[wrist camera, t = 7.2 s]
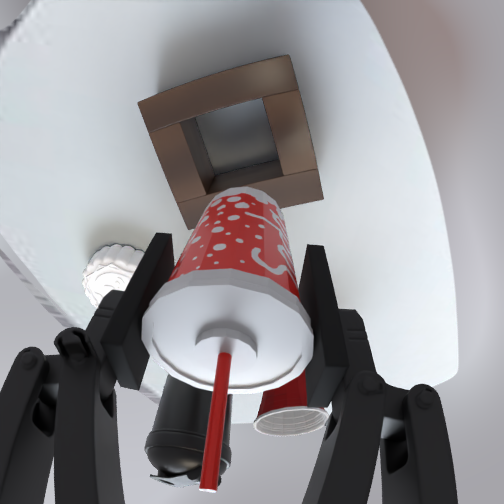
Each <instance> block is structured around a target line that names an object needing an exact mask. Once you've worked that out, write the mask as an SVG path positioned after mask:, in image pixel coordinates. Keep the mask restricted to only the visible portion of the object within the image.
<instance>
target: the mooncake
mask: <svg viewBox="0 0 504 504" xmlns="http://www.w3.org/2000/svg"><path fill="white" fill-rule="evenodd" d="M143 255H144V252H143V251H140V250H136V251H135V250H134V249H133V248H132V247H131V246H124V247H122V246H120V245H118V244H115V245H113V246H111V247H109V246H105V247H103V248H102V249H101V251H97V252H96V253H95V254H94V255H93V257H92V258H91V260H90V261H89V262H88V264H87V266H86V268H85V269H84V271H83V277H84V278H83V280H82V284H83V286H84V287H85V294H86V295H87V296H88V297H89V298H90V302H91V303H92V304H93V305H94V306H95V307H96V308H98V306H99V304H100V302H101V300H102V299H103V297H104V296H105V295H106V294H107V293H109V292H110V291H111V290H112V289H113V290H120V291H125V289H126V287H127V285H128V283H129V281H130V279H131V277H132V276H133V274H134V272H135V270H136V268H137V266H138V264H139V263H140V261H141V259H142V257H143Z"/></svg>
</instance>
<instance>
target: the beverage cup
mask: <svg viewBox="0 0 504 504" xmlns="http://www.w3.org/2000/svg"><path fill="white" fill-rule="evenodd" d="M141 340H142V341H143V343H144V345H145V347H146V349H147V351H148V353H149V354H150V356H151V358H152V360H153V361H155V362H156V363H157V364H158V365H159V366H160V367H162V368H163V369H164V370H165V371H166V372H167V373H169V374H170V375H171V376H173V377H175V378H177V379H179V380H181V381H183V382H185V383H187V384H190V385H192V386H194V387H196V388H200V389H205V390H209V391H213V393H212V400H211V407H210V414H209V421H208V428H207V435H206V442H205V449H204V456H203V464H202V471H201V479H200V486H199V490H201V491H205V492H217V486H218V477H219V468H220V458H221V449H222V440H223V431H224V422H225V413H226V404H227V395H228V394H253V393H258V392H262V391H266V390H270V389H274V388H278V387H280V386H282V385H284V384H286V383H287V382H289V381H291V380H293V379H294V378H296V377H298V376H299V375H300V374H301V373H302V372H303V370H304V369H305V368H306V366H307V365H308V363H309V362H310V361H311V359H312V357H313V340H314V335H313V329H312V328H311V319H310V317H309V315H308V314H307V312H306V310H305V309H304V307H303V305H302V304H301V302H300V297H299V292H298V286H297V281H296V276H295V271H294V266H293V261H292V256H291V251H290V246H289V241H288V236H287V232H286V227H285V222H284V217H283V213H282V212H281V210H280V208H279V206H278V204H277V203H276V201H275V200H274V199H272V198H271V197H270V196H268V195H267V194H266V193H265V192H263V191H261V190H257V189H254V188H250V187H236V188H229V189H227V190H225V191H223V192H221V193H220V194H218V195H216V196H215V197H214V198H213V200H212V201H211V202H210V203H209V205H208V206H207V207H206V209H205V211H204V213H203V215H202V216H201V218H200V220H199V222H198V224H197V226H196V228H195V229H194V231H193V233H192V235H191V237H190V239H189V241H188V243H187V245H186V247H185V248H184V250H183V252H182V254H181V256H180V258H179V260H178V262H177V264H176V266H175V268H174V270H173V272H172V274H171V276H170V278H169V280H168V282H167V283H165V284H164V285H163V286H162V287H161V289H160V290H159V291H158V292H157V294H156V295H155V296H154V298H153V299H152V300H151V301H150V304H149V308H148V309H147V310H146V311H145V313H144V315H143V318H142V339H141Z"/></svg>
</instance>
